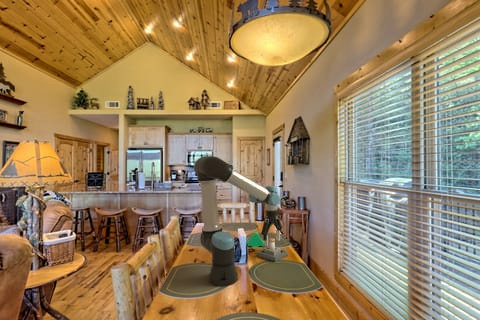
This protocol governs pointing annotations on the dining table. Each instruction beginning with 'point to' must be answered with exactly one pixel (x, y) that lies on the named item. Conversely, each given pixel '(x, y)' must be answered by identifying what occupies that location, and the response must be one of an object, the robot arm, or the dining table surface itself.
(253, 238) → the green triangular block
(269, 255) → the housing
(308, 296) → the dining table surface
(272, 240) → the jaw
